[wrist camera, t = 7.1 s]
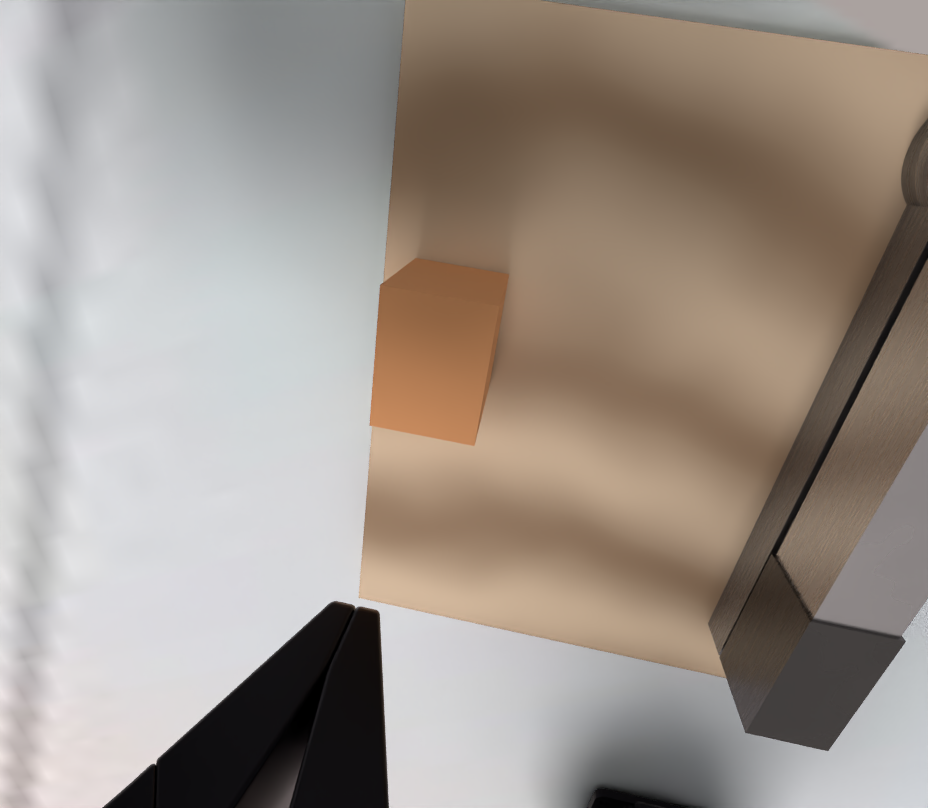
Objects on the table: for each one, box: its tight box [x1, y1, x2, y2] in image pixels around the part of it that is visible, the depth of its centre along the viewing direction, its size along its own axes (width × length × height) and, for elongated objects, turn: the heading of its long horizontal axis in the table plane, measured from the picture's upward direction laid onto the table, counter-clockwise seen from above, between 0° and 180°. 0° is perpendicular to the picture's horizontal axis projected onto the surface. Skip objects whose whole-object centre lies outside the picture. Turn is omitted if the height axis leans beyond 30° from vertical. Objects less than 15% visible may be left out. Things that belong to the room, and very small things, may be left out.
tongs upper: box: [719, 259, 928, 751], centre depth 15 cm, size 16×3×3 cm, turn 172°
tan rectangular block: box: [370, 258, 509, 446], centre depth 16 cm, size 4×3×4 cm
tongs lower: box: [708, 119, 928, 655], centre depth 15 cm, size 19×4×5 cm, turn 172°
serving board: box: [359, 0, 928, 678], centre depth 19 cm, size 22×18×1 cm
